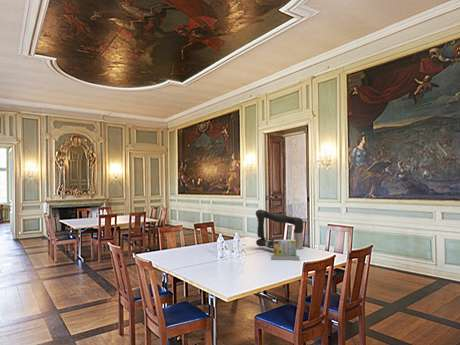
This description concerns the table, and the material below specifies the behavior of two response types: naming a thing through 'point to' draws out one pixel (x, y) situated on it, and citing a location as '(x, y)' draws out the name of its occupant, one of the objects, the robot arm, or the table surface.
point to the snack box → (284, 247)
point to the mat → (285, 258)
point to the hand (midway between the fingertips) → (281, 246)
